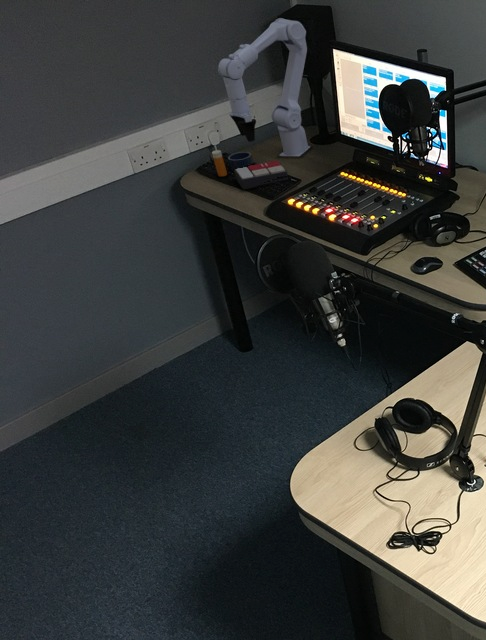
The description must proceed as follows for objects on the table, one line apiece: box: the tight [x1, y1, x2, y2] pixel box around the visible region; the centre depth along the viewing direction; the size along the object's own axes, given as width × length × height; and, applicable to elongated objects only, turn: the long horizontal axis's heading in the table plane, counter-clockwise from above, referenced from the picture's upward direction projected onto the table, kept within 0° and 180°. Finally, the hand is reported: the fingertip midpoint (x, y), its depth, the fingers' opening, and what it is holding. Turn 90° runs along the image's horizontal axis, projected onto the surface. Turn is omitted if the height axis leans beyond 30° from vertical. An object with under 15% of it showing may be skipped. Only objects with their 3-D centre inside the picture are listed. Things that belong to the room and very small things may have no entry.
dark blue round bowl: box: [227, 151, 255, 171], centre depth 289 cm, size 8×8×4 cm
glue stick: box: [211, 149, 228, 177], centre depth 282 cm, size 3×3×8 cm
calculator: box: [233, 160, 289, 190], centre depth 278 cm, size 11×4×15 cm
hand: (248, 138), depth 283 cm, fingers open, 7 cm apart
